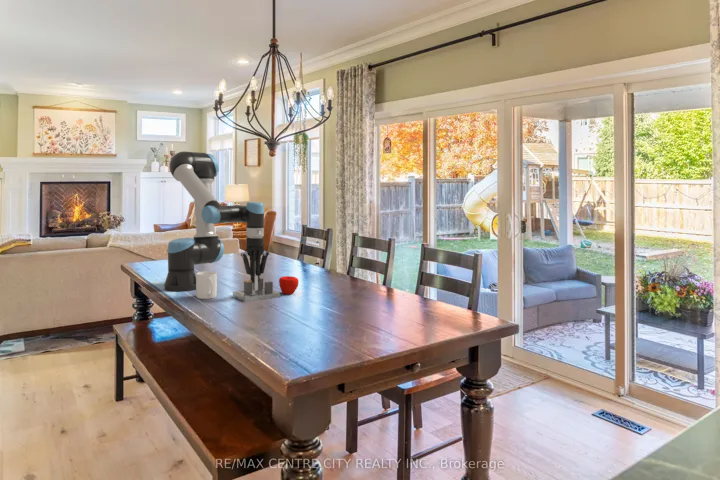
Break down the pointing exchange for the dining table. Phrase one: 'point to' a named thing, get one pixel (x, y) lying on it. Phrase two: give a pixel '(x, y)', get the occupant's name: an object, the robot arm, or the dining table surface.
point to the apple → (288, 284)
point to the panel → (255, 295)
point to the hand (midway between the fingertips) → (255, 289)
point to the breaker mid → (248, 287)
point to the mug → (206, 285)
